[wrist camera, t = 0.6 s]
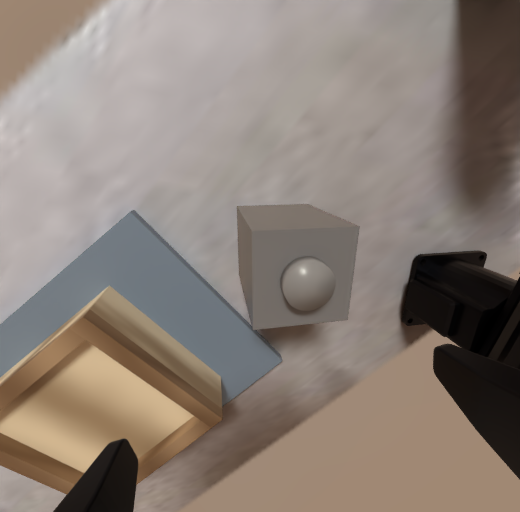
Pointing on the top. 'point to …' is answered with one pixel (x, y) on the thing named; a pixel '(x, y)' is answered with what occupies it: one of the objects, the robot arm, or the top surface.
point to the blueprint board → (145, 305)
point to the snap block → (295, 264)
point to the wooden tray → (104, 395)
